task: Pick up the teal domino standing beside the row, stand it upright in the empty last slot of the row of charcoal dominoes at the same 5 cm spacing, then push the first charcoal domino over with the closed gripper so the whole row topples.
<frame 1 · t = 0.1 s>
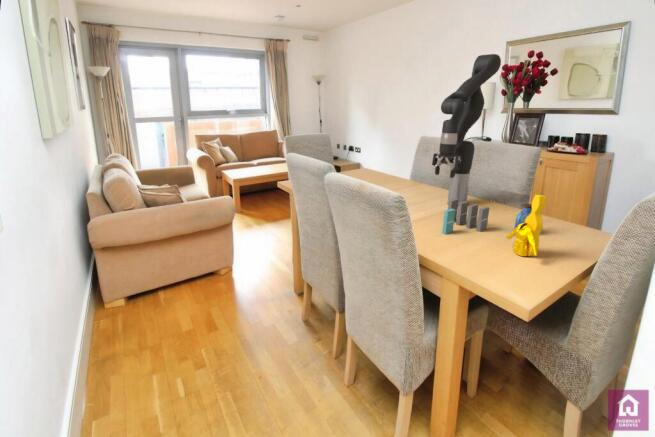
hand: (444, 176, 177), 17 cm above the table, tool pointing down, fingers open, 8 cm apart
tile 4: (481, 230, 155), on the table
end tile: (447, 232, 152), on the table
tile 3: (470, 226, 159), on the table
figure statuette: (523, 254, 132), on the table
tile 2: (460, 223, 163), on the table
perfume bottle: (523, 232, 153), on the table
tile 1: (451, 220, 166), on the table
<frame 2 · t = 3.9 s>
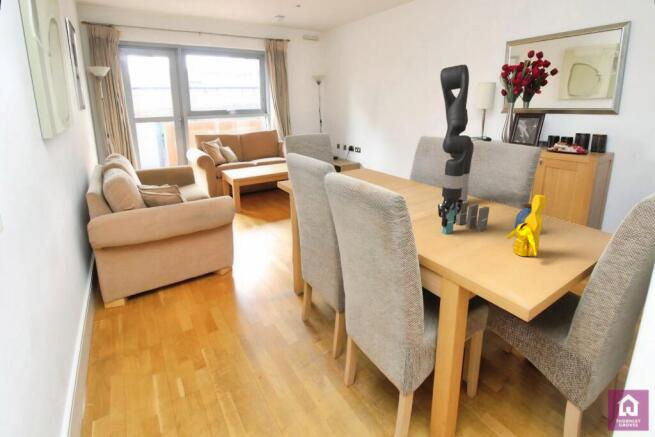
hand: (448, 224, 151), 3 cm above the table, tool pointing down, fingers closed on end tile, 5 cm apart
end tile: (447, 232, 152), on the table, touching gripper
everything else where it was.
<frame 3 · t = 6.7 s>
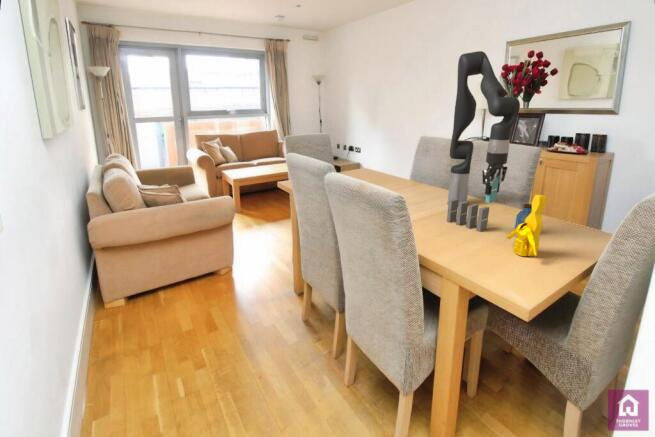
hand: (491, 193, 146), 17 cm above the table, tool pointing down, fingers closed on end tile, 5 cm apart
end tile: (490, 201, 147), point 14 cm above the table, touching gripper
everything else where it was.
when the fingers open (4 cm above the table, at t = 9.9 s): end tile stays where it is, on the table.
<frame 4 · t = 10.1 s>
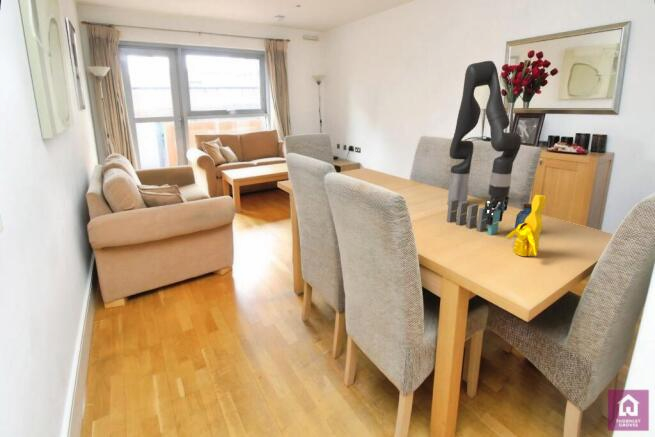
hand: (493, 222, 150), 5 cm above the table, tool pointing down, fingers open, 6 cm apart
end tile: (492, 233, 151), on the table
everything else where it was.
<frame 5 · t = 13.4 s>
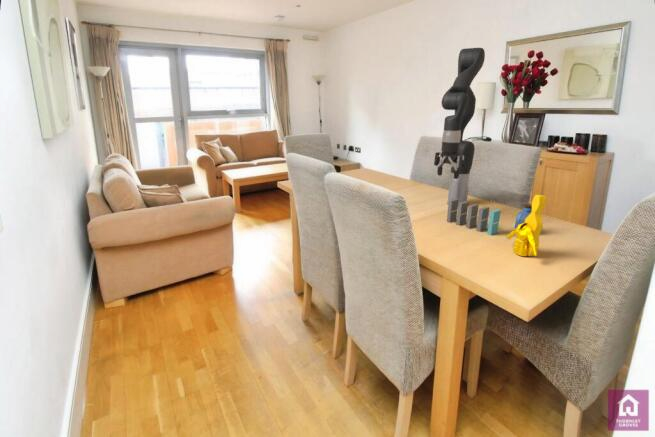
hand: (447, 176, 164), 20 cm above the table, tool pointing down, fingers open, 8 cm apart
nothing on the table moved.
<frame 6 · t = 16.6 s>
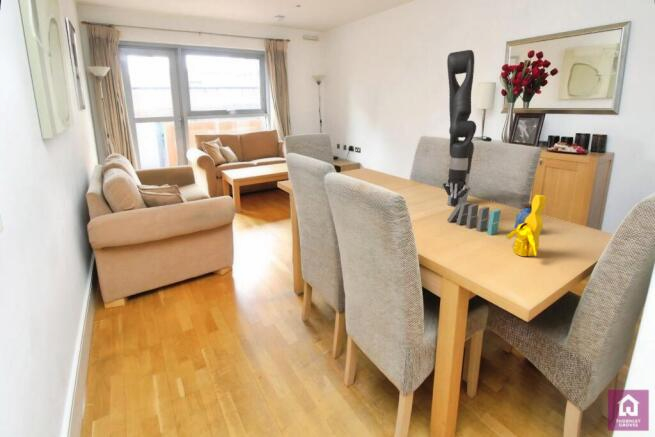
hand: (454, 205, 163), 8 cm above the table, tool pointing down, fingers closed
tile 2: (461, 223, 162), on the table, tilted 8°
tile 1: (451, 220, 166), on the table, tilted 28°
everything else where it was.
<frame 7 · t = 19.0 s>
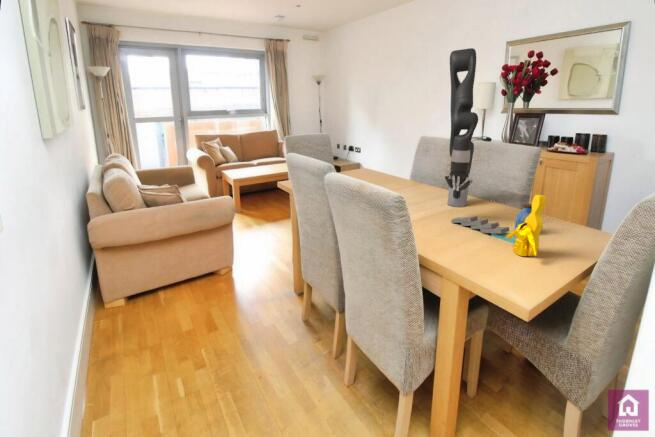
hand: (456, 198, 162), 11 cm above the table, tool pointing down, fingers closed
tile 4: (484, 229, 153), point 1 cm above the table, tilted 73°, touching end tile, tile 3
end tile: (494, 233, 150), point 1 cm above the table, tilted 89°, touching tile 4
tile 3: (474, 226, 157), point 1 cm above the table, tilted 70°, touching tile 2, tile 4
tile 2: (464, 223, 161), point 1 cm above the table, tilted 70°, touching tile 3
tile 1: (455, 220, 165), point 1 cm above the table, tilted 70°
everything else where it was.
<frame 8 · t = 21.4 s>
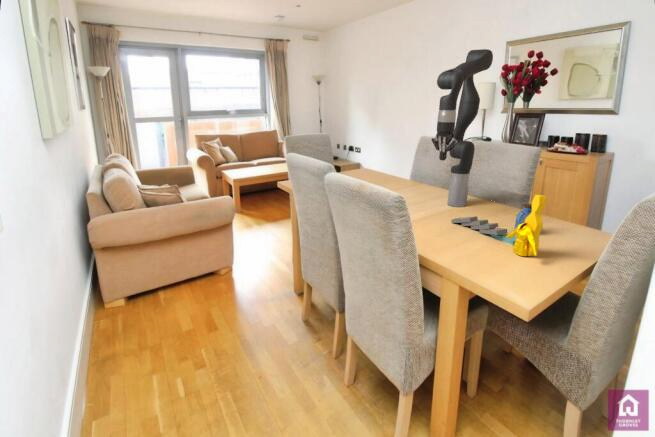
hand: (442, 160, 164), 27 cm above the table, tool pointing down, fingers closed
at the end: end tile tilted 89°; end tile inside the target area (2.5 cm from its centre), point 0.5 cm above the table; tile 3 tilted 70° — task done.
